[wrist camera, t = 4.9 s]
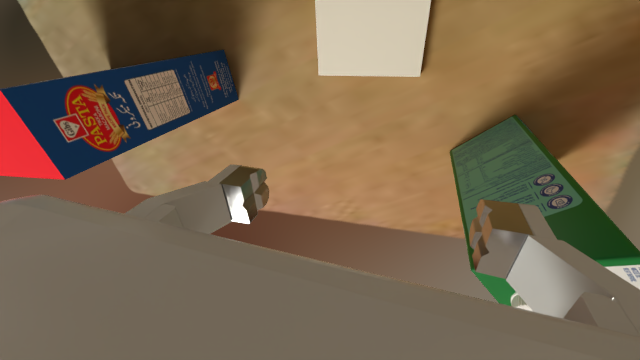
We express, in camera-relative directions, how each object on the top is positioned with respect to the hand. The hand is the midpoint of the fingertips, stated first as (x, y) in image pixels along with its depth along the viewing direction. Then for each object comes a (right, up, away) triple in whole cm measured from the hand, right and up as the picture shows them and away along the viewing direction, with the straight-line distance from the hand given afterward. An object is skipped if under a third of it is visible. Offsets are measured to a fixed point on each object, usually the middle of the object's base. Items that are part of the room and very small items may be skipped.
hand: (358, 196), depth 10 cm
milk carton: (+24, +4, +27) cm, 36 cm away
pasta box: (-29, +19, +39) cm, 53 cm away
